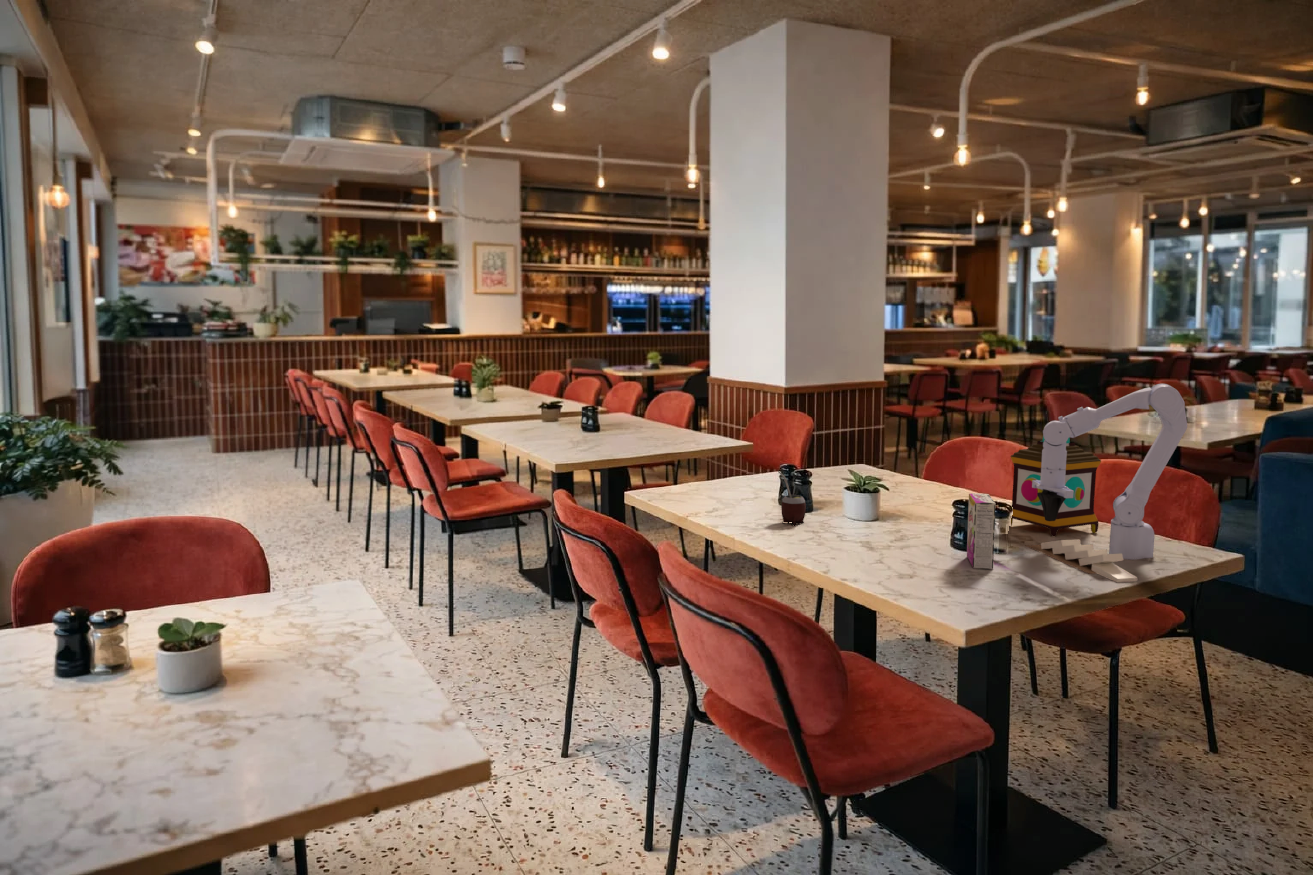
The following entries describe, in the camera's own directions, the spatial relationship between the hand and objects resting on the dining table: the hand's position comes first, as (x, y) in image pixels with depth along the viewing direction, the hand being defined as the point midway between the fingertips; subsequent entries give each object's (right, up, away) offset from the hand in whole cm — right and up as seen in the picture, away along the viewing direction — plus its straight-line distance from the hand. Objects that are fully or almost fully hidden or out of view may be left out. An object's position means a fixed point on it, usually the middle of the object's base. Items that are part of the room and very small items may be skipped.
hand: (1050, 520), depth 227 cm
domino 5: (+3, -9, -19) cm, 22 cm away
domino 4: (+3, -9, -15) cm, 17 cm away
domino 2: (+1, -7, -5) cm, 9 cm away
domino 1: (0, -7, 0) cm, 7 cm away
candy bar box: (-22, -10, -10) cm, 26 cm away
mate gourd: (-61, -4, +33) cm, 70 cm away
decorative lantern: (+11, -5, +24) cm, 27 cm away
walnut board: (+2, -9, -8) cm, 12 cm away
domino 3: (+2, -8, -9) cm, 12 cm away
